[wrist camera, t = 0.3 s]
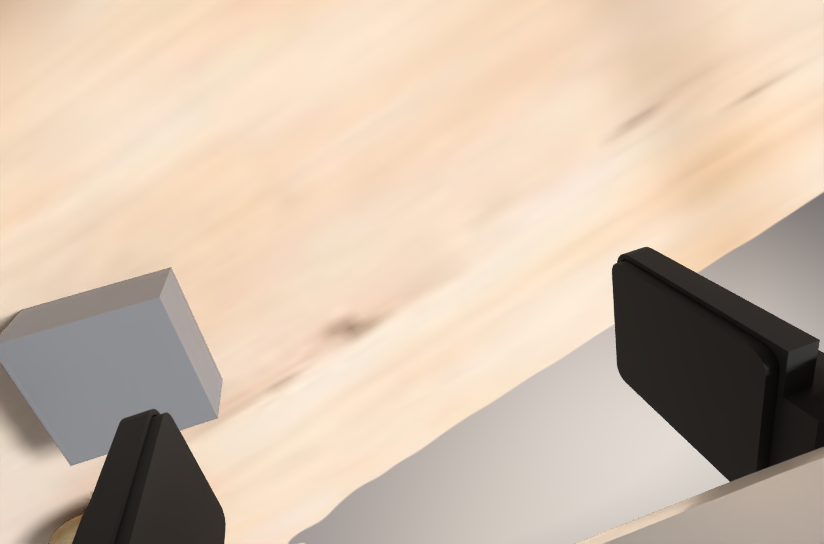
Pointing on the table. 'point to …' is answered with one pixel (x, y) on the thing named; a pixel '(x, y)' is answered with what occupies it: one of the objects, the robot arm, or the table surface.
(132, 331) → the gray block
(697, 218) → the table surface
